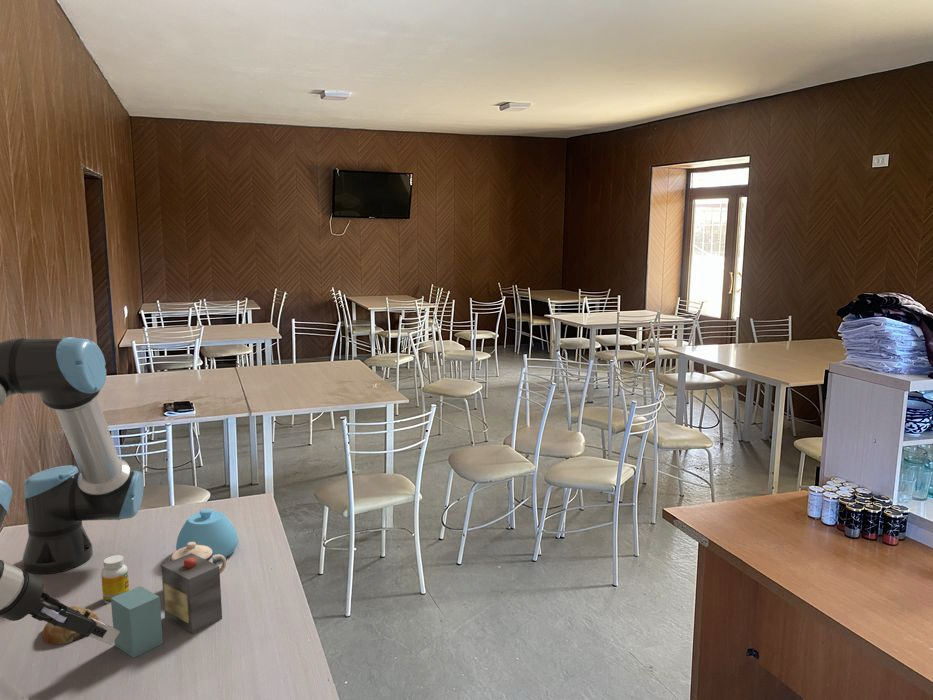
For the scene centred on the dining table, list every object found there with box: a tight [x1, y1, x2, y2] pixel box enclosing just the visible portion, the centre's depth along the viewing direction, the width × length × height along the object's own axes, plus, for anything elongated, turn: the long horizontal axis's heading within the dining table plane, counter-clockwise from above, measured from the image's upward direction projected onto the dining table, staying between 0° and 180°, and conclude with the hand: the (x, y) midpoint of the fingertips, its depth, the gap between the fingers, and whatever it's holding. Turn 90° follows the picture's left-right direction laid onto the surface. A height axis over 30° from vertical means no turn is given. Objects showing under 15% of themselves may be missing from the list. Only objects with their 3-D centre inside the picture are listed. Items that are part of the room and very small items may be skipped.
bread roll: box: [41, 605, 100, 646], centre depth 143 cm, size 10×10×8 cm
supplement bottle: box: [100, 554, 130, 605], centre depth 158 cm, size 5×5×10 cm
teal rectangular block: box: [110, 585, 164, 659], centre depth 138 cm, size 7×6×10 cm
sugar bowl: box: [175, 508, 239, 563], centre depth 180 cm, size 15×15×12 cm
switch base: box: [160, 553, 223, 634], centre depth 141 cm, size 12×22×14 cm, turn 144°
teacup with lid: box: [170, 542, 227, 575], centre depth 162 cm, size 12×9×12 cm
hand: (113, 637), depth 134 cm, fingers closed
